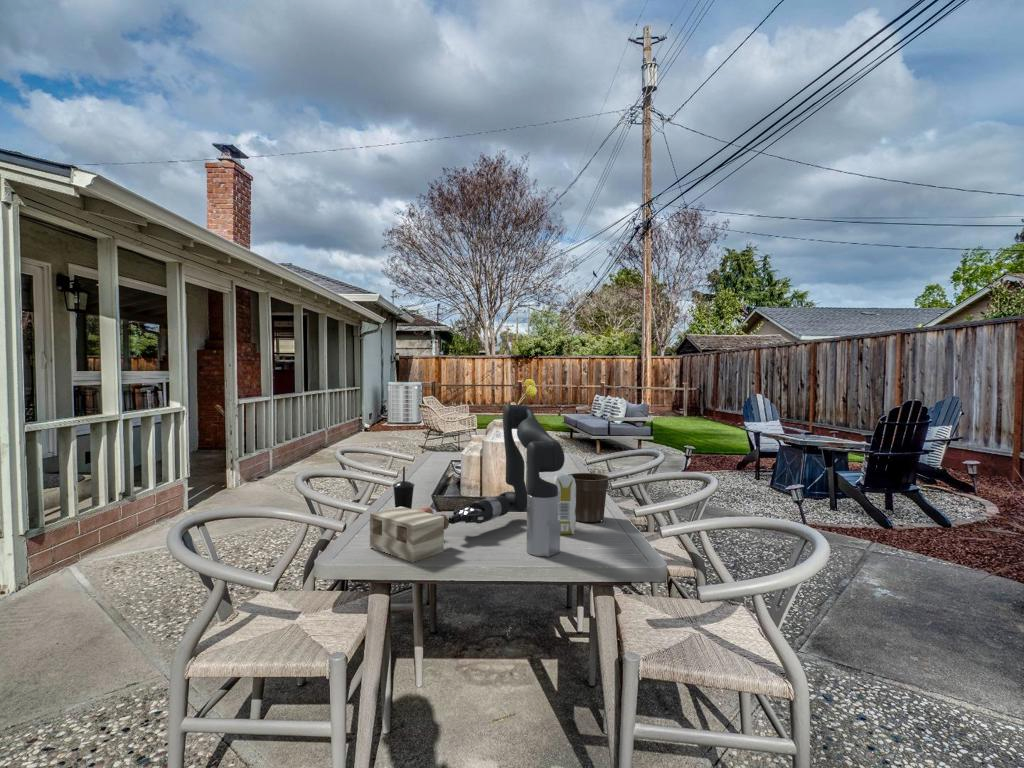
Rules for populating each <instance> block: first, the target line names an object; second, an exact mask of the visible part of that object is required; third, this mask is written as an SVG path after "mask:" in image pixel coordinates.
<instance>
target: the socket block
mask: <svg viewBox="0 0 1024 768" xmlns="http://www.w3.org/2000/svg"><path fill="white" fill-rule="evenodd" d="M439 515H440V514H439ZM439 515H438V514H435V513H433V514H430V513H426V512H422V511H418V510H417V509H415V508H414V509H412V508H411V509H410V508H406V507H396V508H395V507H393V508H387V509H383V510H380V511H375V512H370V514H369V548H370V547H371V548H374V549H376V550H375V551H377V550H380V551H382V552H381V553H383V552H385V553H384V554H386V553H388V554H387V555H389V554H391V555H390V556H392V555H394V556H393V557H395V556H397V557H396V558H398V557H399V558H398V559H401V558H403V559H402V560H404V559H405V560H404V561H407V560H408V562H410V561H411V562H410V563H416V562H419V561H421V560H425V559H427V558H430V557H432V556H435V555H439V554H441V553H444V551H445V550H444V548H445V546H444V545H445V544H444V542H445V539H444V538H445V530H444V517H443V516H439ZM399 526H402V527H406V528H407V541H404V540H401V539H398V527H399ZM371 548H370V549H371ZM374 549H373V550H374ZM380 551H379V552H380ZM418 560H419V561H418ZM415 561H416V562H415Z"/></svg>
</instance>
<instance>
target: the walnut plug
mask: <svg viewBox="0 0 1024 768" xmlns="http://www.w3.org/2000/svg"><path fill="white" fill-rule="evenodd" d="M439 516H443V517H444V531H445V530H447V529H448V528H449V525H450V523H449V520H448V518H449V517H448V516H447V515H445V514H439ZM398 539H401V540H404V541H407V528H406V527H402V526H399V527H398Z"/></svg>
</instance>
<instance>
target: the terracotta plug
mask: <svg viewBox="0 0 1024 768" xmlns="http://www.w3.org/2000/svg"><path fill="white" fill-rule="evenodd" d="M416 510H418V511H422V512H426V513H430V514H434V512H433V509H432V508H431V507H430V506H424V507H421V508H418V509H416Z"/></svg>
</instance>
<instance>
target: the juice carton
mask: <svg viewBox="0 0 1024 768" xmlns="http://www.w3.org/2000/svg"><path fill="white" fill-rule="evenodd" d="M552 483H553V484H555V485H557V487H558V517H557V520H560V535H565V534H573V535H574V534H575V530H576V521H577V520H576V484H575V479H574V478H573V477H572V475H568V474H554V475H553V480H552Z"/></svg>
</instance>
